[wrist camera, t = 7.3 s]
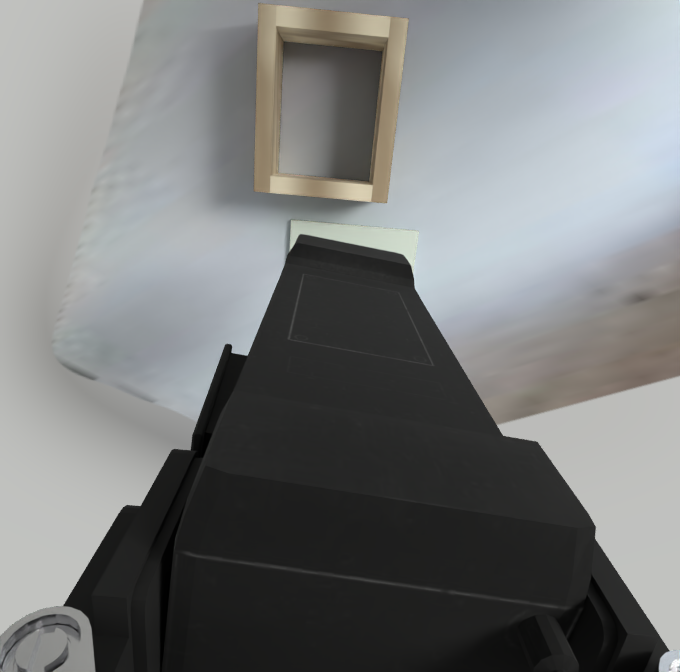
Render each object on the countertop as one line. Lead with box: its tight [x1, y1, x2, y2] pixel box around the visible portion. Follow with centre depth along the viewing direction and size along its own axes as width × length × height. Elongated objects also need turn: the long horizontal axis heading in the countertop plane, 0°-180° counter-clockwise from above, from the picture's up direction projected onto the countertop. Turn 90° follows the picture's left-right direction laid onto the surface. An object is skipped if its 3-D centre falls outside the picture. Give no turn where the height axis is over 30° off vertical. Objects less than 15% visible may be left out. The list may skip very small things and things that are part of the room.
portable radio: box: [162, 234, 596, 672], centre depth 18 cm, size 8×6×25 cm
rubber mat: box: [289, 220, 419, 272], centre depth 44 cm, size 11×11×1 cm
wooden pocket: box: [254, 3, 409, 203], centre depth 37 cm, size 10×12×5 cm
